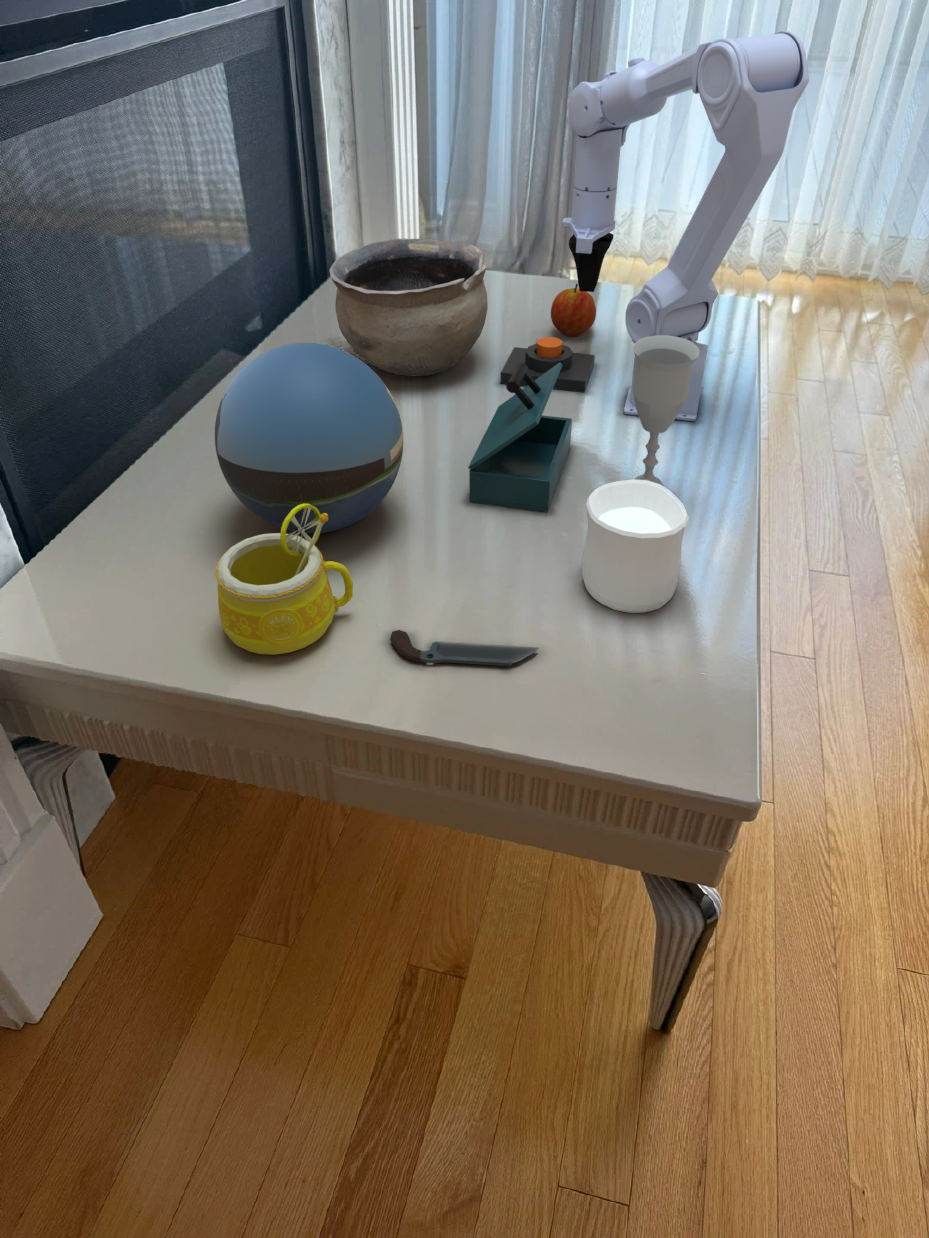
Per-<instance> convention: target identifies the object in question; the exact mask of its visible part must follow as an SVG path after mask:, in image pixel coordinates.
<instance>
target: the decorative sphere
mask: <svg viewBox="0 0 929 1238" xmlns="http://www.w3.org/2000/svg"><path fill="white" fill-rule="evenodd" d="M221 397H222V398H221V400H220V403H219V405H218V409H217V412H216V417H215V422H214V423H215V424H214V447H215V452H216V453H215V454H216V457H217V462H218V463H219V468H220V470H221V473H222V475H223V478H224V480H225V481H226V483H227V485H228V486H229V488H230V489H231V491H232V492H233V495H235V496H236V498H237V499H238V500H239V502H241V504H243V505H244V507H246V508H247V510H249V511H250V512H251V513H253V514H254V515H255V516H257V517H259V518H260V519H262V521H264V522H267V523H269V524H271V525H273V526H275V527H277V528H280V529H281V528H282V524H283V522H284V520H285V518H286V517H287V515H288V514H289V513H290V511H291V510H292V509H293V508H295V507H296V506H298V505H301V504H304V503H305V504H310V505H312V506H314V507H316V508H317V509H318V510H319V512H320V514H323V513H327V514H328V518H329V519H328V521H327V522H325V523H324V524H323V526H322V528H321V532H320V534H321V533H322V534H323V533H329V532H333V531H338V530H341V529H344V528H347V527H350V526H351V525H353V524H355V523H358V522H359V521H360V520H363V518H365V517H366V516H368V515H369V514H370V513H372V511H374V510H375V509H376V508H377V507H378V506H379V505H380V504H381V503H382V501H384V499H385V498H386V496H387V495H388V493H389V492H390V491H391V489H392V487H393V485H394V483H395V481H396V479H397V476H398V474H399V471H400V467H401V463H402V460H403V453H404V452H403V451H404V431H403V424H402V419H401V415H400V412H399V408H398V406H397V403H396V402H395V399H394V397H393V395H392V392H390V390H389V388H388V387H387V385H386V383H384V381H383V380H382V379H381V377H380V376H379V375H378V374H377V373H376V372H375V371H374V370H373V369H372V368H371V367H370V366H369V365H368V364H367V363H365V362H364V361H362V360H361V359H360V358H358V357H356V356H355V355H353V354H351V353H349V352H347V351H345V350H343V349H341V348H338V347H334V346H331V345H327V344H322V343H316V342H313V343H312V342H295V343H290V344H284V345H281V346H276V347H274V348H271V349H269V350H267V351H265V352H263V353H260V354H259V355H258V356H256V357H254V358H253V359H252V360H250V361H249V362H248V363H247V364H245V365H244V366H243V367H242V368H241V369H240V370H239V371H238V372H237V374H236V375H235V376H234V377H233V378H232V380H231V381H230V383H229V384H228V386H227V388H226V389H225V390H224V393H223V395H222V396H221ZM307 511H308V508H307ZM307 511H306V514H305V516H304V519H303V522H302V524H301V521H302V517H303V512H304V509H301V510H300V511H298V512H297V513H296V514H295V518H296V520H297V521H298V523H299V525H300V526H301V528H302V527H304V525H307V524H308V523H310V522H311V521H312V520H314V519H315V518H316V515H315V513H314V511H313V510H312V509H311V510H310V513H309V516H308V519H307V521H306V524H305V520H306V516H307ZM313 524H314V523H313ZM311 525H312V524H311ZM311 525H308V526H306V527H304V528H302V529H306V528H308V527H309V526H311ZM297 526H298V525H297ZM297 526H296V525H295V524H294V523H293V522H292V521H290V522H289V524H288V527H287V530H286V531H290V532H295V531H297V530H298V527H299V526H298V527H297ZM316 526H317V525H315V526H313V527H311V528H308V529H306V530H305V531H304V532H305V533H306V534H314V533H315V531H316ZM302 529H301V531H302ZM301 531H297V532H295V533H299V532H301ZM305 533H304V534H305ZM300 534H302V532H301V533H300Z"/></svg>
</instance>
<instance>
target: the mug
mask: <svg viewBox="0 0 929 1238" xmlns="http://www.w3.org/2000/svg"><path fill="white" fill-rule="evenodd" d="M307 508H308V511H307ZM301 509H304V512H303V517H302V521H301V524H302V522H303V519H304V516H305V514H306V511H307V516H306V520H305V524H306V521H307V519H308V516H309V513H310V510H311V509H312V510H313V511H314V513H315V515H316V518H315V519H314V520H312V521H311V522H310V523H308V524H307V525H304V527H306V526H308V525H311V524H312V525H311V526H309V527H308V528H311V527H313V526H315V525H317V526H316V531H315V533H313V536H312V537H310V536H309V535H308V533H305V532H304V531H305V530H306V529H308V528H306V529H302V528H304V527H302V528H301V526H300V525H299V523H298V521H297V520H296V518H295V514H296V513H297V512H298V511H300V510H301ZM328 519H329V518H328V514H327V513H323V514H320V512H319V510H318V509H317V508H316V507H314V506H312V505H310V504H305V503H304V504H301V505H298V506H296V507H295V508H293V509H292V510H291V511H290V513H289V514H288V515H287V517H286V518H285V520H284V522H283V524H282V528H280V532H276V533H275V532H274V533H262V534H258V535H254V536H251V537H247V538H244V539H243V540H241V541H239V542H237V543H235V544H234V545H231V546H230V547H229V548H228V550H227V551H226V552H224V554H222V556H220V558H219V559H218V561H217V563H216V565H215V571H214V573H215V579H216V582H217V601H218V602H217V603H218V612H219V614H218V615H219V619H220V623H221V627H222V630H223V632H224V633H225V634H226V635H227V637H228V638H229V639H230V640H231V641H232V642H233V643H234V644H235V645H236V646H237V647H239V648H241V649H244V650H245V651H248V652H250V653H254V654H258V655H282V654H288V653H289V654H290V653H292V652H297V651H298V650H302V649H304V648H306V647H308V646H309V645H311V644H313V643H315V642H317V641H318V640H319V639H320V638H321V637H322V636H324V634H325V633H326V632H327V630H328V629H329V627H330V625H331V624H332V622H333V619H334V616H335V613H336V612H338V611H339V608H341V607H344V606H345V605H346V604H348V602H350V601H351V600H352V598H353V596H354V592H353V591H354V582H353V579H352V577H351V575H350V572H349V570H348V568H347V567H346V566H345V565H344V564H343V563H340V562H337V561H332V560H328V561H325V560H324V557H323V554H322V552H321V551H320V549H319V548H318V546H316V545H315V544H316V543H317V541H318V540H319V537H320V535H321V533H320V532H321V528H322V526H323V524H324V523H325V522H327V521H328ZM290 521H292V522H293V523H294V524H295V525H296V526H297V525H298V526H299V527H298V526H297V527H298V530H297V531H301V529H302V531H301V532H302V533H301V532H297V531H295V532H294V531H292V532H291V533H287V531H288V530H287V527H288V524H289V522H290ZM313 523H314V524H313ZM300 534H301V536H300ZM330 570H333V571H336V572H338V573H339V574H340V575H341V577H342V579H343V585H344V594H343V595H342V596H341V597H339V598H338V597H337V596H335V595H334V594H333V590H332V586H331V583H330V581H329V577H328V572H329V571H330Z"/></svg>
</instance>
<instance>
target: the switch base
mask: <svg viewBox="0 0 929 1238" xmlns="http://www.w3.org/2000/svg"><path fill="white" fill-rule="evenodd" d="M536 352H537V342H536V343H534V344H531V345H529V346H528V347H519V346H518V347H517V346H513V349H512V351H511V353H510V354H509V357H508V358H507V360H506V362H505V363H504V365H503V368H502V370H501V371H500V384H502V385H507V383H508V381H509V379H510V377H511V375H512V373H513V371H514V369H515V367H516V365H517V364H518V363H524V364H526V366H527V368H528V370H527V372H528V374H529V375H530V376H531V377H532V378H533V380H534V381H535V380H536V379H537V378H539V377H540V376H542V375H543V374H544V373H546V372H547V371H548V370H550V369H551V368H553V367H554V366H555V365H557V364H558V363H561V364H562V368H561V370H560V373H559V375H558V377H557V380H556V382H555V385H554V387H553V390H558V391H569V392H579V393H585V392H586V389H587V387H588V383H589V381H590V378H591V375H592V372H593V369H594V367H595V357H596V355H595V354H593V353H581V352H580V353H579V352H574V351H573V350H572V348H571V347H570V346H569V345H566V344H563V343H562V355H561V356H559V357H552V358H548V357H541V356H538V355H537V354H536ZM526 386H528V384H527V383H526V382H525V381H524V380H523V381H522V383H521V385H520V387H526Z"/></svg>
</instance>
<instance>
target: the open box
mask: <svg viewBox="0 0 929 1238" xmlns="http://www.w3.org/2000/svg"><path fill="white" fill-rule="evenodd" d="M572 424H573V418H570V417H569V418H568V417H561V416H552V415H543V414H542V416H541V419H540V421H539V423H538V425H537V426H535V427H534V428H532V429H531V430H529V431H528V432H526V433H525V434H523V435H522V436H520V437H519V438H517V439H516V440H515V441H513V442H512V443H510V444H509V445H507V446H506V447H504V448H503V449H501V450H500V451H498V452H497V453H496V454H494V455H493V456H491V457H490V458H488V459H487V460H485V461H484V462H482V463H481V464H479V465H478V466H477V467H475V468H474V469H472V470H470V469H469V471H468V472H469V473H468V474H469V475H468V477H469V503H472V504H473V503H474V504H481V505H489V506H497V507H505V508H512V509H520V510H528V511H533V512H534V511H535V512H542V513H543V512H544V513H549V511H550V507H551V505H552V501H553V499H554V496H555V493H556V490H557V487H558V485H559V481H560V478H561V476H562V472H563V470H564V466H565V464H566V461H567V459H568V456H569V452H570V449H571V441H572V440H571V438H572V437H571V436H572V426H573V425H572Z"/></svg>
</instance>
